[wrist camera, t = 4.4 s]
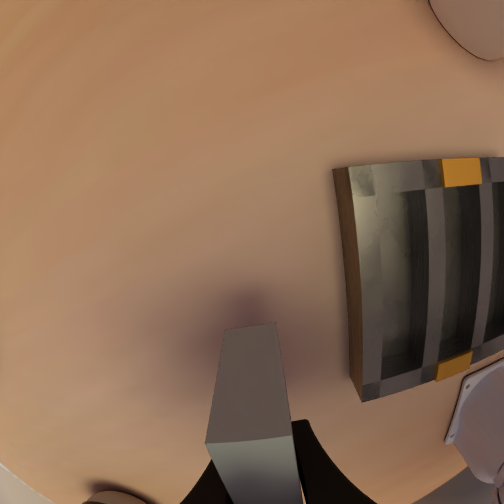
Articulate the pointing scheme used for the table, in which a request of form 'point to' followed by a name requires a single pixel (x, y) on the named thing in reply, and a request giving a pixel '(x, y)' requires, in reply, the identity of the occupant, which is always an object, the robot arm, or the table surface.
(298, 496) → the panel
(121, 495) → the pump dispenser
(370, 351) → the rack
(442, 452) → the table surface
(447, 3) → the candle holder
